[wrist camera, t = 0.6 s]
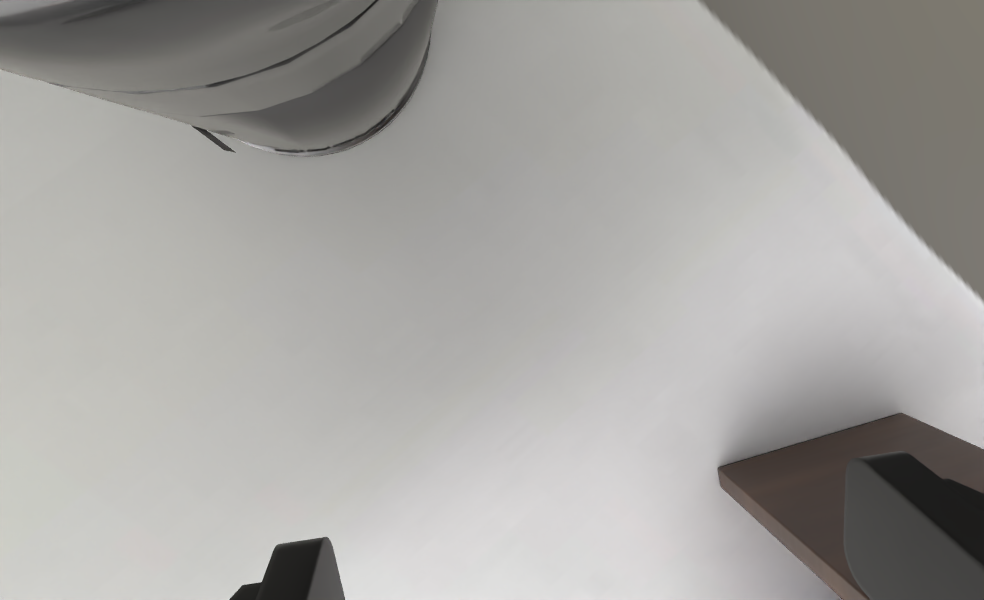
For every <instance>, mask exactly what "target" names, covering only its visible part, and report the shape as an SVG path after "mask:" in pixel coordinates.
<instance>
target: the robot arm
mask: <svg viewBox="0 0 984 600" xmlns="http://www.w3.org/2000/svg"><path fill="white" fill-rule="evenodd" d="M437 3H438V0H0V70H4V71H7V72H11V73H14V74H18V75H21V76H25V77H28V78H32V79H35V80H40V81H44V82H47V83H51V84H54V85H57V86H60V87H64V88H67V89H70V90H74V91H77V92H81V93H84V94H87V95H91V96H94V97H97V98H101V99H104V100H107V101H111V102H114V103H118V104H121V105H124V106H128V107H131V108H134V109H138V110H143V111H146V112H150V113H153V114H156V115H159V116H163V117H166V118H169V119H172V120H176V121H179V122H182V123H185V124H189V125H191V126H193V127H194V128H195V129H197V130H198V131H199V132H201V133H202V134H203V135H205V136H206V137H207V138H209V139H210V140H211V141H213V142H214V143H215V144H217V145H218V146H219V147H221V148H222V149H223V150H226V151H231V152H235V151H233V150H232V149H231V148H229V147H228V146H227V145H225V144H224V143H223V142H221V141H220V140H219V139H217V138H216V137H215V136H213V135H212V134H211V133H209V132H208V131H212V132H215V133H218V134H221V135H225V136H228V137H231V138H235V139H237V140H238V141H240V142H243V143H245V144H247V145H250V146H252V147H255V148H258V149H261V150H265V151H268V152H272V153H277V154H281V155H289V156H304V157H309V156H322V155H328V154H333V153H337V152H340V151H344V150H347V149H350V148H352V147H355V146H357V145H359V144H361V143H363V142H365V141H367V140H369V139H370V138H372V137H373V136H375V135H376V134H378V133H379V132H380V131H382V130H383V129H384V128H385V127H387V126H388V125H389V124H390V123H391V122H392V121H393V120H394V119H395V118H396V117H397V116H398V115H399V113H400V112H401V111H402V110H403V109H404V107H405V106H406V104H407V103H408V101H409V100H410V98H411V97H412V95H413V93H414V91H415V89H416V87H417V86H418V83H419V81H420V78H421V76H422V73H423V70H424V66H425V63H426V59H427V55H428V50H429V45H430V35H431V28H432V24H433V20H434V16H435V12H436V8H437ZM207 130H208V131H207ZM235 153H236V152H235ZM843 541H844V552H845V557H846V560H847V563H848V566H849V569H850V571H851V573H852V575H853V577H854V579H855V581H856V582H857V584H858V585H859V586H860V588H861V589H862V590H863V591H864V593H865V594H866V595H867V596H868V597H869V599H870V600H984V494H983V493H981V492H979V491H977V490H974V489H972V488H970V487H968V486H965V485H963V484H961V483H958V482H956V481H954V480H952V479H949V478H947V479H942V478H940V477H939V476H938V475H936V474H935V473H934V472H933V471H931V470H930V469H929V468H927V467H926V466H925V465H924V464H922V463H921V462H920V461H918V460H917V459H916V458H915V457H913V456H912V455H910V454H909V453H907V452H905V451H897V452H890V453H884V454H877V455H871V456H864V457H857V458H852V459H851V460H850V461H849V462H848V464H847V467H846V474H845V507H844V540H843ZM230 600H345V597H344V593H343V588H342V584H341V580H340V576H339V571H338V567H337V563H336V559H335V554H334V550H333V546H332V544H331V541H330V540H329V538H328V537H323V538H317V539H310V540H303V541H297V542H290V543H284V544H278V545H277V546H276V547H275V549H274V551H273V553H272V556H271V559H270V562H269V564H268V567H267V570H266V572H265V575H264V578H263V581H262V582H261V583H254V584H248V585H242V586H241V587H240V589H239V590H238V591H237V592H236V593H235V594H234V595H233V596H232V597H231V598H230Z"/></svg>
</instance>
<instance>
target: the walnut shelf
mask: <svg viewBox="0 0 984 600" xmlns="http://www.w3.org/2000/svg"><path fill="white" fill-rule="evenodd" d="M897 451H905V452H907V453H909V454H910V455H912V456H913V457H915V458H916V459H917V460H918V461H920V462H921V463H922V464H924V465H925V466H926V467H927V468H929V469H930V470H931V471H933V472H934V473H935V474H936V475H938V476H939V477H940V478H942V479H947V478H949V479H952V480H954V481H956V482H958V483H961V484H963V485H965V486H968V487H970V488H972V489H974V490H977V491H979V492H981V493H983V494H984V449H982V448H979V447H977V446H975V445H973V444H970V443H968V442H966V441H964V440H961V439H959V438H957V437H955V436H953V435H950V434H948V433H946V432H944V431H941V430H939V429H937V428H935V427H932V426H930V425H928V424H926V423H923V422H921V421H919V420H917V419H914V418H912V417H910V416H908V415H906V414H903V413H901V414H897V415H894V416H891V417H887V418H884V419H880V420H877V421H874V422H870V423H867V424H864V425H860V426H857V427H854V428H850V429H847V430H844V431H840V432H837V433H833V434H830V435H827V436H823V437H820V438H817V439H813V440H810V441H807V442H803V443H800V444H797V445H793V446H790V447H786V448H783V449H780V450H776V451H773V452H770V453H766V454H763V455H760V456H756V457H753V458H750V459H746V460H743V461H740V462H736V463H733V464H729V465H726V466H723V467H719V468H718V473H719V478H720V483H721V487H722V489H723V490H725V491H726V492H727V493H728V494H729V495H730V496H731V497H732V498H733V499H734V500H735V501H737V502H738V503H739V504H740V505H741V506H742V507H743V508H744V509H745V510H746V511H747V512H748V513H750V514H751V515H752V516H753V517H754V518H755V519H756V520H757V521H758V522H759V523H760V524H761V525H763V526H764V527H765V528H766V529H767V530H768V531H769V532H770V533H771V534H772V535H773V536H775V537H776V538H777V539H778V540H779V541H780V542H781V543H782V544H783V545H784V546H785V547H786V548H788V549H789V550H790V551H791V552H792V553H793V554H794V555H795V556H796V557H797V558H798V559H799V560H801V561H802V562H803V563H804V564H805V565H806V566H807V567H808V568H809V569H810V570H811V571H812V572H814V573H815V574H816V575H817V576H818V577H819V578H820V579H821V580H822V581H823V582H824V583H826V584H827V585H828V586H829V587H830V588H831V589H832V590H833V591H834V592H835V593H836V594H837V595H839V596H840V597H841V598H842V599H843V600H870V599H869V597H868V596H867V595H866V594H865V593H864V591H863V590H862V589H861V588H860V586H859V585H858V584H857V582H856V581H855V579H854V577H853V575H852V573H851V571H850V569H849V566H848V563H847V560H846V557H845V552H844V541H843V540H844V507H845V474H846V467H847V464H848V462H849V461H850V460H851V459H852V458H857V457H864V456H871V455H877V454H884V453H890V452H897Z"/></svg>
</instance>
